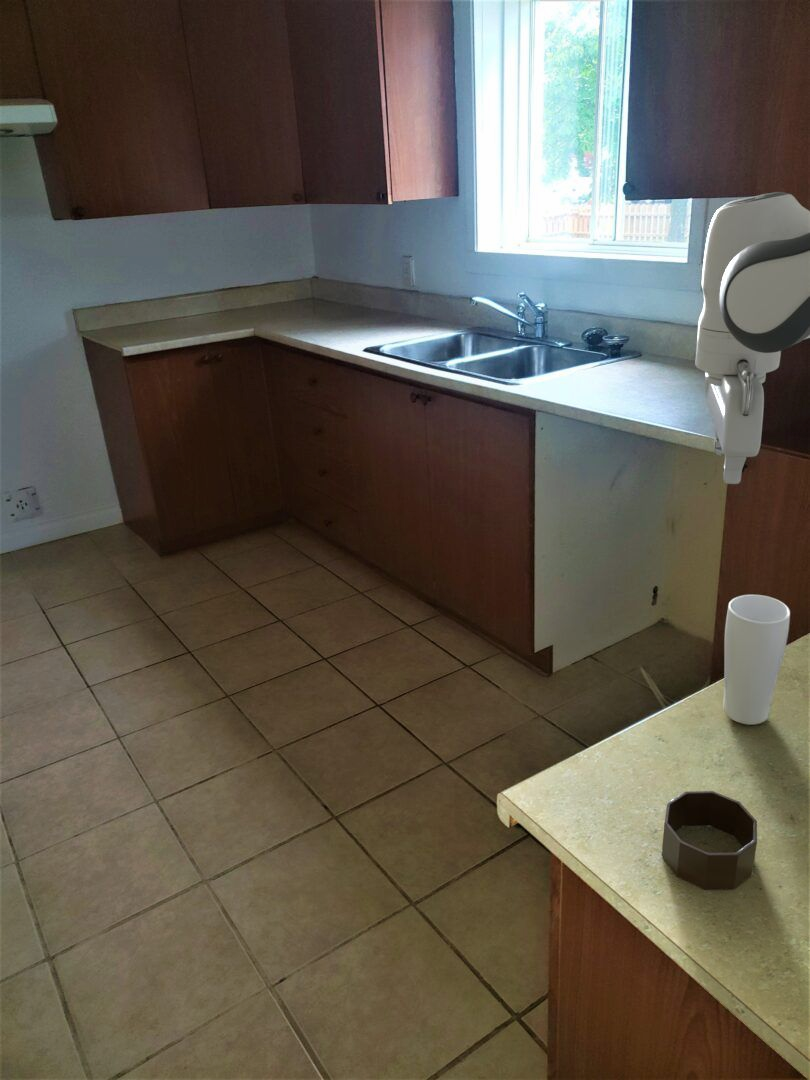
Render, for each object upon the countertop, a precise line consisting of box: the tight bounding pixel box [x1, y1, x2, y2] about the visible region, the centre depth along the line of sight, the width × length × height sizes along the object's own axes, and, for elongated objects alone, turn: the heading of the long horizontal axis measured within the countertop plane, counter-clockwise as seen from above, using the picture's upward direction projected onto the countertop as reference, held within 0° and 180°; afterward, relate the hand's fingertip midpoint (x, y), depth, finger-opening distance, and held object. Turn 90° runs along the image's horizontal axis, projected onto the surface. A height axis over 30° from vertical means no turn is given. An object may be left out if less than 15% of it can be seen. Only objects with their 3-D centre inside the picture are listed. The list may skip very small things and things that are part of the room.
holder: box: [661, 790, 758, 891], centre depth 81 cm, size 8×9×4 cm
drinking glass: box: [722, 594, 791, 726], centre depth 97 cm, size 7×7×15 cm
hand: (726, 466), depth 97 cm, fingers open, 8 cm apart
